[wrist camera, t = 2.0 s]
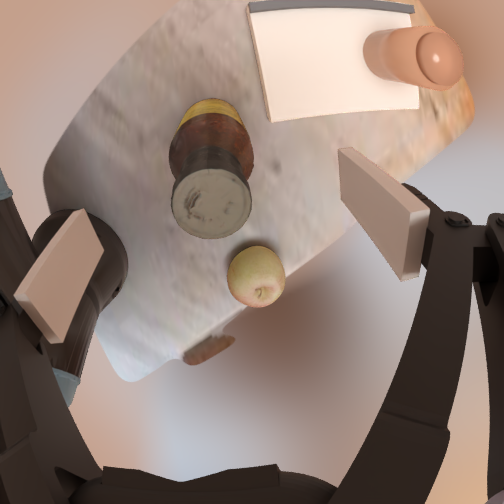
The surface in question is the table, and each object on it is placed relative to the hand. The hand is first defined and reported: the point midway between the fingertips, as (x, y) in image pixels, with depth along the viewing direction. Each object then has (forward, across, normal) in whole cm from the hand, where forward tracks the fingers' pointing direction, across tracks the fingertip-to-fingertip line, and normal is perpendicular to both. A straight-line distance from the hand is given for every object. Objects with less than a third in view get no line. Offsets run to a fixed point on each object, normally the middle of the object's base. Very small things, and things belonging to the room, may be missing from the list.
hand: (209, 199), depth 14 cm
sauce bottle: (+20, 0, 0) cm, 20 cm away
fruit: (+20, +1, -19) cm, 28 cm away
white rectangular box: (+20, +15, +6) cm, 25 cm away
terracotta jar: (+18, +20, +6) cm, 27 cm away
